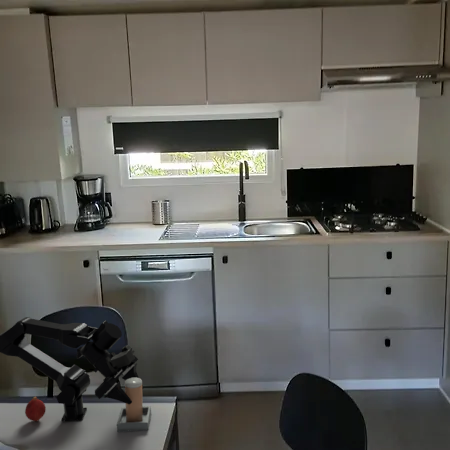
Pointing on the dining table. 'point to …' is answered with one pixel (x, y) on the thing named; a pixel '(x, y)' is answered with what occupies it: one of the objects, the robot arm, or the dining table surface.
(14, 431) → the dining table surface
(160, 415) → the dining table surface
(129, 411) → the brown cylinder grey top
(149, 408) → the tray
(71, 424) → the dining table surface
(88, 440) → the dining table surface
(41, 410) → the onion
